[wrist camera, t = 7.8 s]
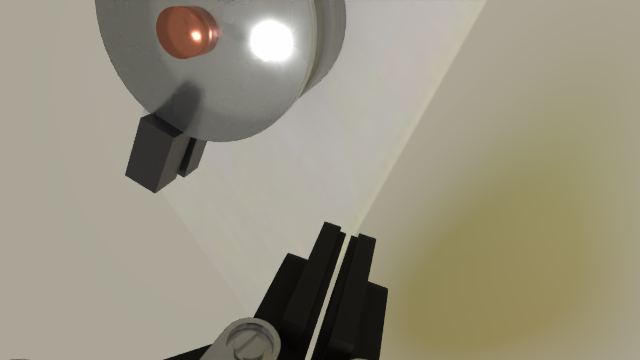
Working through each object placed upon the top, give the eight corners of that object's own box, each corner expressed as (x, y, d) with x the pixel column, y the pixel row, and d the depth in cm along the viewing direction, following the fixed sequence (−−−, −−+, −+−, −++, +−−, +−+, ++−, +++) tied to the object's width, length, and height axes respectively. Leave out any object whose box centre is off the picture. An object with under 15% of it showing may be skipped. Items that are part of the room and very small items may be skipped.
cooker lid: (138, -165, 24) (87, -193, 20) (361, -25, 24) (350, -28, 20) (84, 123, 35) (46, 137, 31) (237, 217, 35) (217, 241, 31)
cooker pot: (238, -153, 33) (150, -223, 22) (396, -62, 33) (382, -89, 22) (169, 98, 45) (93, 129, 35) (284, 164, 45) (241, 214, 35)
